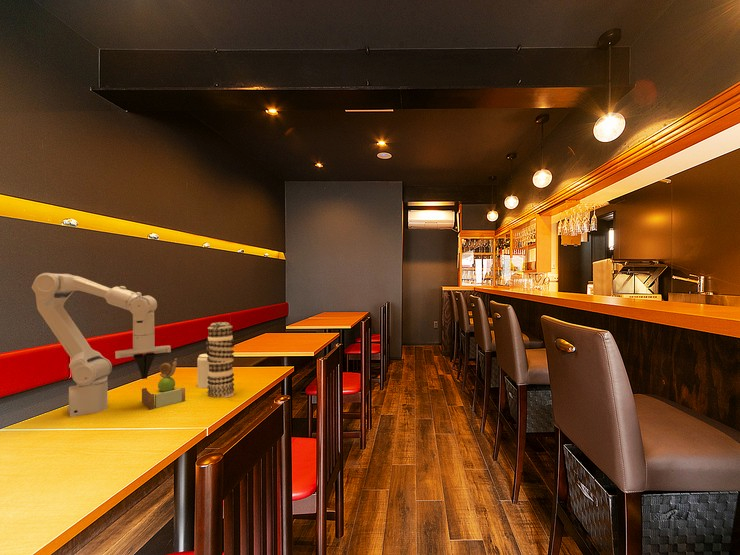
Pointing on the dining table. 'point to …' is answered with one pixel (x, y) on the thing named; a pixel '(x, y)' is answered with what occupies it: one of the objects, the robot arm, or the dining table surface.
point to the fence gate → (169, 397)
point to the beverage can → (202, 370)
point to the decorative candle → (220, 360)
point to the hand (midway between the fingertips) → (144, 378)
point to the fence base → (147, 399)
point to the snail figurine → (167, 377)
